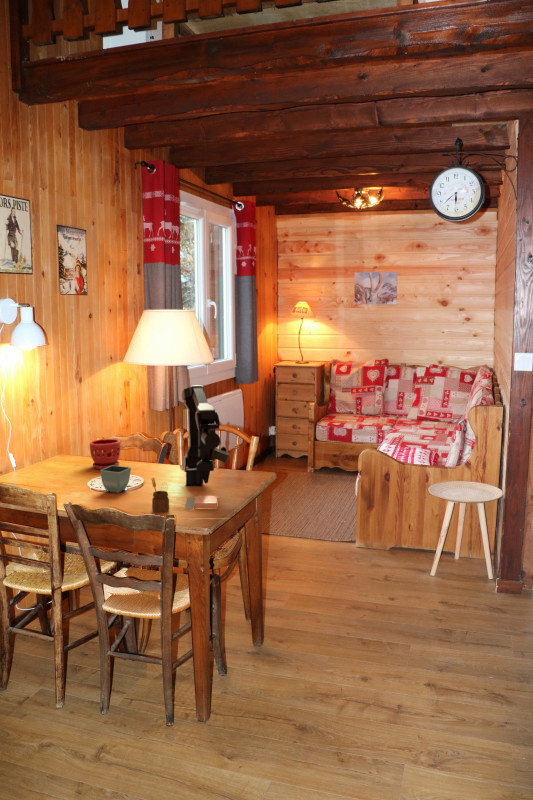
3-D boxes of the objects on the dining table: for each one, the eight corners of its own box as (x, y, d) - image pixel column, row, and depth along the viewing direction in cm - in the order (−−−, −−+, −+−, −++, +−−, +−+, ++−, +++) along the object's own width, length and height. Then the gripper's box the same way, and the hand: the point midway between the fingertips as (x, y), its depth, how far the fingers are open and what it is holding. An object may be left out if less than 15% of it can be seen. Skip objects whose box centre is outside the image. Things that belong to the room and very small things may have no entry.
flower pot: (131, 489, 265) (131, 467, 263) (120, 495, 257) (119, 472, 255) (112, 486, 268) (112, 465, 266) (100, 492, 259) (99, 470, 258)
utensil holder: (163, 515, 233) (162, 482, 232) (148, 512, 236) (147, 479, 234) (172, 510, 239) (172, 478, 237) (157, 508, 241) (157, 475, 240)
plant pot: (125, 464, 303) (124, 438, 301) (112, 471, 290) (111, 445, 288) (99, 462, 306) (98, 437, 304) (85, 469, 293) (84, 443, 291)
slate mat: (184, 510, 239) (184, 509, 239) (187, 498, 253) (187, 497, 253) (218, 510, 239) (218, 509, 239) (218, 498, 253) (218, 497, 253)
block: (195, 501, 249) (194, 508, 240) (195, 495, 248) (194, 503, 240) (217, 500, 249) (216, 508, 240) (217, 495, 249) (216, 503, 240)
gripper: (227, 448, 237) (227, 490, 240) (228, 436, 256) (228, 476, 258) (196, 448, 237) (196, 490, 239) (199, 436, 255) (199, 476, 258)
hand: (206, 483), depth 249 cm, fingers closed
